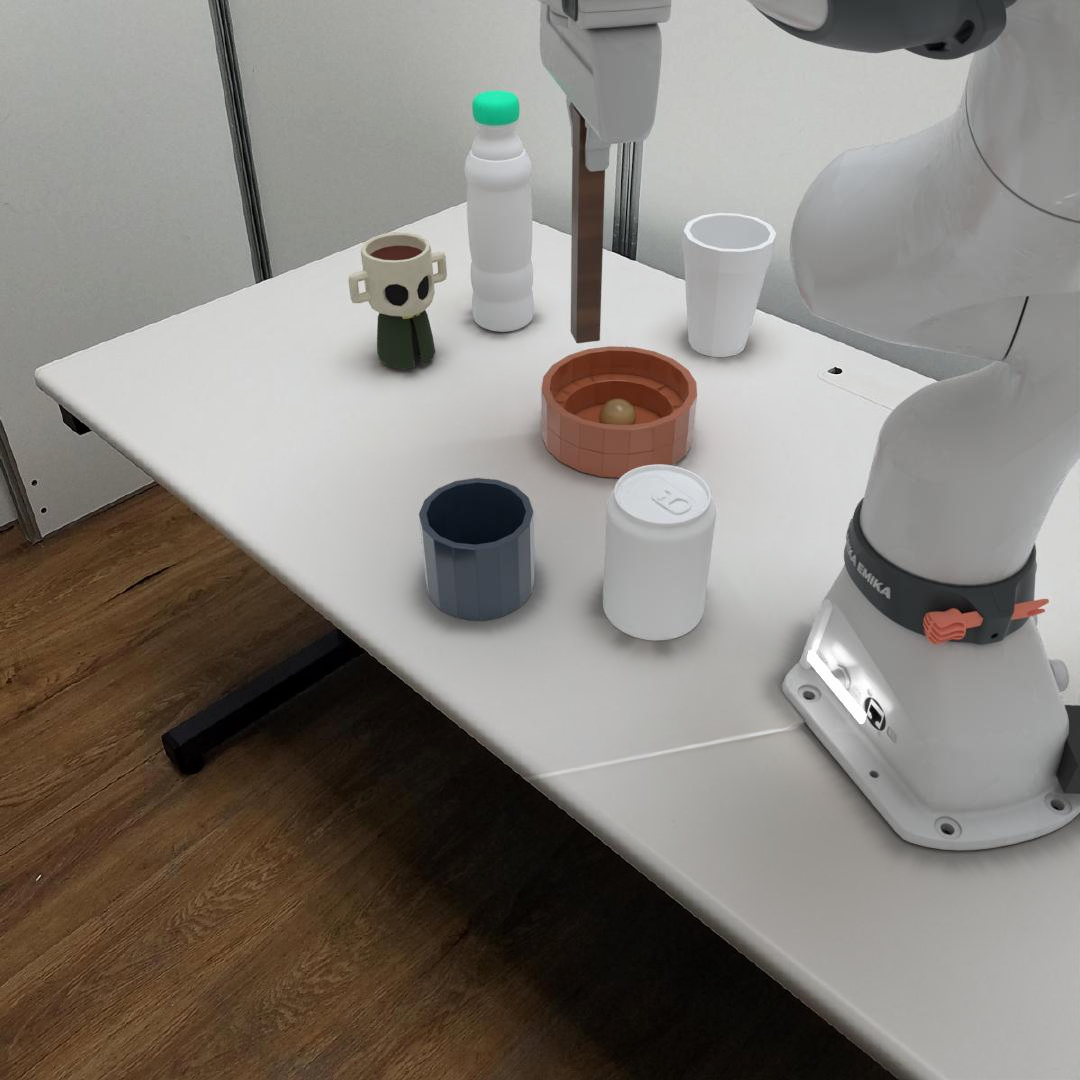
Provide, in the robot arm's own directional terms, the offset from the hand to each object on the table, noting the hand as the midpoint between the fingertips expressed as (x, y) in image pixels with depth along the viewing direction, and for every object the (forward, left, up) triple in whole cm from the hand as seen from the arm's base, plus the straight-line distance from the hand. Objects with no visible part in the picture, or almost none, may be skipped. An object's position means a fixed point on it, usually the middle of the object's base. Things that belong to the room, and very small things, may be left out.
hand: (589, 159), depth 86 cm
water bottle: (+26, +3, -28) cm, 39 cm away
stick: (0, 0, -16) cm, 16 cm away
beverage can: (-24, +1, -28) cm, 37 cm away
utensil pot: (-18, +14, -28) cm, 36 cm away
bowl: (0, -3, -28) cm, 28 cm away
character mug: (+20, +15, -28) cm, 38 cm away
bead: (0, -3, -26) cm, 26 cm away
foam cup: (+15, -19, -28) cm, 37 cm away
